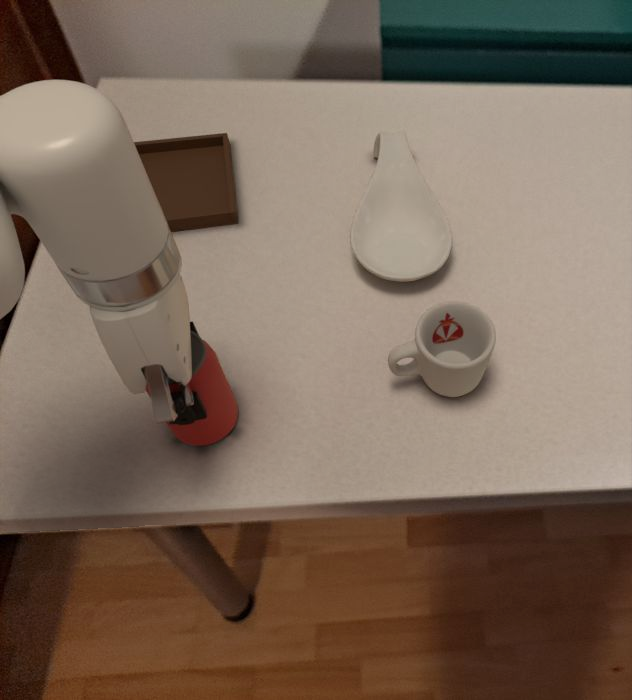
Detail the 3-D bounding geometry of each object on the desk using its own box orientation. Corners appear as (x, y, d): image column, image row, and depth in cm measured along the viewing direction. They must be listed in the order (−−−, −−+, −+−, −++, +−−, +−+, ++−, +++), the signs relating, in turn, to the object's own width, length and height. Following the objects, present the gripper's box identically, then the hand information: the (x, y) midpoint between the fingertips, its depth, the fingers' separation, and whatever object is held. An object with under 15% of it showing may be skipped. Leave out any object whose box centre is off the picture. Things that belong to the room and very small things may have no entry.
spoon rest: (456, 292, 80) (461, 252, 74) (355, 300, 78) (351, 259, 72) (432, 153, 92) (434, 109, 86) (344, 157, 91) (340, 112, 85)
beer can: (181, 387, 70) (144, 320, 60) (246, 392, 71) (220, 325, 61) (163, 446, 67) (120, 384, 57) (231, 450, 67) (201, 390, 57)
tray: (131, 237, 81) (125, 225, 79) (131, 155, 88) (126, 142, 86) (238, 223, 83) (235, 211, 81) (230, 144, 90) (227, 132, 89)
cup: (397, 419, 70) (396, 380, 64) (381, 355, 74) (379, 312, 68) (497, 398, 73) (506, 358, 66) (476, 337, 77) (483, 293, 70)
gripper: (68, 176, 52) (143, 314, 67) (54, 369, 43) (145, 479, 58) (173, 165, 53) (223, 303, 68) (180, 349, 44) (236, 461, 59)
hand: (187, 382), depth 63 cm, fingers closed on beer can, 6 cm apart
